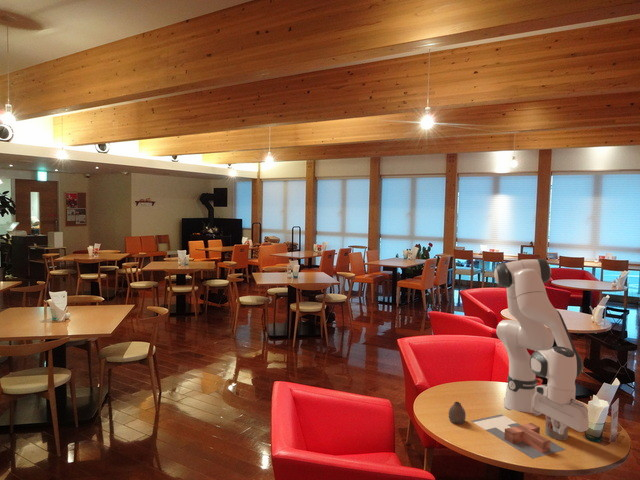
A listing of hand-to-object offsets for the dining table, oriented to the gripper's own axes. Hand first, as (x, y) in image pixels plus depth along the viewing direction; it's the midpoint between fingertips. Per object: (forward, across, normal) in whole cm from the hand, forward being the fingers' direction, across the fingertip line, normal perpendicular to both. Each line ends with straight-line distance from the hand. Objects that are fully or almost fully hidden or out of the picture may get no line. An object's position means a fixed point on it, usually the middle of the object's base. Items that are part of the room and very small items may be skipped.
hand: (558, 432), depth 162 cm
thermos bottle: (+11, +14, -16) cm, 24 cm away
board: (+11, +20, -1) cm, 22 cm away
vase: (+11, +37, +13) cm, 41 cm away
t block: (+10, +12, -1) cm, 15 cm away
